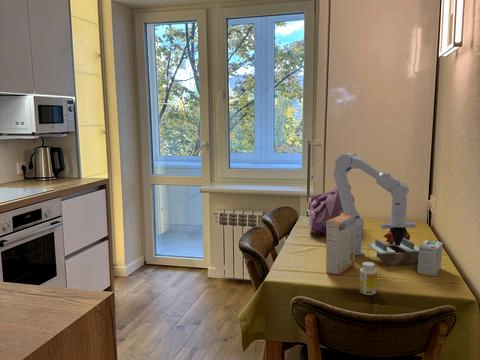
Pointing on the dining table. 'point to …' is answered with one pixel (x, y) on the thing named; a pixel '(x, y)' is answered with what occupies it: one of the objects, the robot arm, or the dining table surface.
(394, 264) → the walnut box
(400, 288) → the dining table surface
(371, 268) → the supplement bottle
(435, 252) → the light bulb box
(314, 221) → the purple cloth
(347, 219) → the cracker box
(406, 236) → the dragon fruit
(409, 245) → the lid right
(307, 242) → the dining table surface
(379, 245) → the lid left
